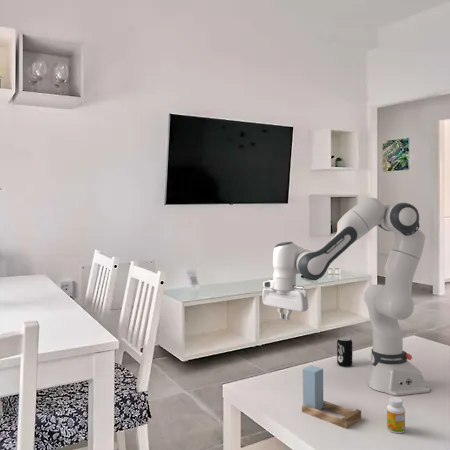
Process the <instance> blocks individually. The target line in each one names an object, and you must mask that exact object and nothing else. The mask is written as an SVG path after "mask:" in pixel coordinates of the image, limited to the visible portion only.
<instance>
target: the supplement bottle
mask: <svg viewBox="0 0 450 450" xmlns="http://www.w3.org/2000/svg"><path fill="white" fill-rule="evenodd" d="M403 404H404V403H403V399H402V398H400V397H398V396H397V397H396V396H395V397H394V396H392V397H390V398H389V401H388V405H387V406H386V428H387V429H386V430H388V432H390V433H392V434H397V435H398V434H404V432H405V431H406V408H405V407H404V405H403Z"/></svg>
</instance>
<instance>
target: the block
mask: <svg viewBox="0 0 450 450" xmlns="http://www.w3.org/2000/svg"><path fill="white" fill-rule="evenodd" d="M323 401H324V368H323V367H318V366H315V365H312V364H311V365H309V366H306V367H304V368H302V406H303V405H307V406H309V407H312V408H315V409H318V410H320V411H322V409H324V408H323Z"/></svg>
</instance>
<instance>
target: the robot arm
mask: <svg viewBox="0 0 450 450" xmlns="http://www.w3.org/2000/svg"><path fill="white" fill-rule="evenodd" d="M377 226H378V227H379V228H381V229H382V230H384V231H386V232H391V233H392V232H393V234H394V242H393V245H392V247H391V249H390V252H389V253H388V254H389V255H388V257H387V260H386V263H385V265H384V269H383V270H384V273H385V280H384V284H371V285H369V286H368V287H367V288H366V289H365V291H364V292H363V293H364V294H363V299H364V300H363V301H364V302H365V304H366V306H367V311H368V313H369V319H370V323H371V329H372V330H371V332H372V348H371V354H370V360H371V372H370V377H369V379H368V380H369V381H368V383H367V384H368V386H369V388H371V389H373V390H375V391H378V392H382V393H387V394H389V395H391V396H395V397H396V396H397V397H398V396H406V395H414V394H425V393H431V386H430V385H429V384H428V383H427V382H426V381H425V380H424V376H423V374H422V372H421V371H420V369H418V367H416V366H415V365H414V364H413V363H411V361H412V359H413V355H412V354H410V353H407V352H406V351H404V349H403V347H404V345H403V344H404V343H403V342H404V340H403V338H404V337H403V330H402V327H401V326H400V324H399V321H398V320H401V321H402V320H406V319H408V318H409V317H411V316H412V314H413V312H414V310H415V309H414V308H415V303H414V300H413V297H412V293H413V292H412V289H413V282H414V281H413V280H414V277H415V273H416V271H417V268H418V266H419V263H420V260H421V257H422V255H423V251H424V247H425V240H426V236H425V234H424V233H423V231H422V230H420V213H419V210H418V209H417V207H415V205H413V204H411V203H407V202H394V203H392V204H387V205H385V204H384V203H383V202H382V201H381V200H379V199H378V198H375V197H369V198H366V199H364V200H363V201H360V202H359V203H357V204H356V205H354V206H352V208H350V209H349V210H348V211H347V212H345V213H344V214H343V215H342V217H340V219H339V220H338V221H337V225H336V229H337V230H336V233H335V235H334V236H333V237H332V238H331V239H329V241H328V242H326V243H325V244H323V246H322V247H321V248H320V249H319V248H318V250H316V251H311V250H309V249H306V248H303V247H301V246H299V245H297V244H295V243H294V242H292V241H284V242H280V243H278V244H276V245H275V246H274V248H273V253H272V267H273V268H272V269H273V274H272V279H269V280H266V281H263V282H262V287H263V289H262V292H261V293H262V298H261V299H262V304H263V305H264V306H268V307H275V308H277V312H278V313H279V319H280V320H283V321H287V322H288V321H290V318H291V317H290V316H291V315H292V313H293V311H295V312H298V313H299V312H301V313H303V312H306V311H308V309H309V301H308V291H307V289H306V288H305V287H304V286H298V285H297V275H301V276H302V277H303V278H304V279H306V280H309V281H316V280H319V279H321V278H323V277H324V276H325V274H326V272H327V271H328V268H329V267H330V265H331V264H332V263H333V262H334V261H335V260H336V259H337V258H338V257H339V256H340V255H341V254H343V253H344V252H345V251H346V250H347V249H348V248H350V246H351V245H353V244H355V242H357V241H358V240H360V239H361V238H363V237H364V236H365V235H367V234H368V233H369V232H370V231H371V230H373V229H374V228H375V227H377ZM284 310H285V312H286V313H284Z"/></svg>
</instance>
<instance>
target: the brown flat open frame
mask: <svg viewBox="0 0 450 450" xmlns="http://www.w3.org/2000/svg"><path fill="white" fill-rule="evenodd" d="M323 409H325V410H328V411H330V412H333V413H336V414H338V415H341V416H343V417H339V416H336V415H335V414H331V413H329V412H325V411H324V410H318V409H315V408H312V407H309V406H307V405H303V404H302V406H301V412H302V413H303V414H304V413H305V414H307V415H309V416H312V417H315V418H318V419H320V420H323V421H325V422H328V423H331V424H332V425H336V426H338V427H341V428H344V429H348V428H350V427H351V426H353V425H354V424H356V423H358V422H359V421H361V420H362V410H360V409H359V408H357V409H355V410H353V409H349V408H347V407H343V406H340V405H337V404H335V403H332V402H329V401H326V400H323Z"/></svg>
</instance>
